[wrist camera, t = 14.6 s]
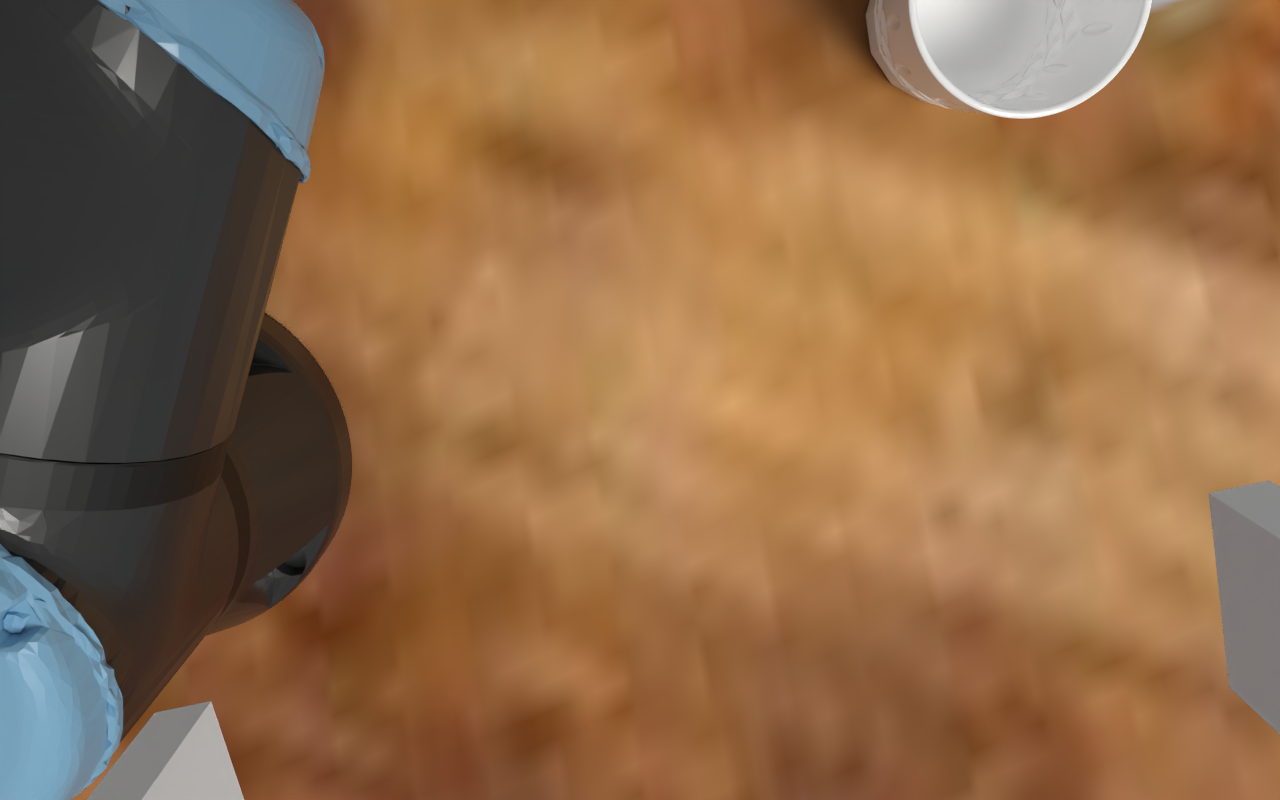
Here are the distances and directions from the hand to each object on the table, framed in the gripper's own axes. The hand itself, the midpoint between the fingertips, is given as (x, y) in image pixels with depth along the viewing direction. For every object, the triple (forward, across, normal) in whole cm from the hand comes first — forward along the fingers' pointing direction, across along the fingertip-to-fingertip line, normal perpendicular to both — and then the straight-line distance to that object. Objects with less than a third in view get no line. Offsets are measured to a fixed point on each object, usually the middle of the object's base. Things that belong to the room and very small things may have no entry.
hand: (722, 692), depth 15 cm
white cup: (+36, +14, +8) cm, 39 cm away
